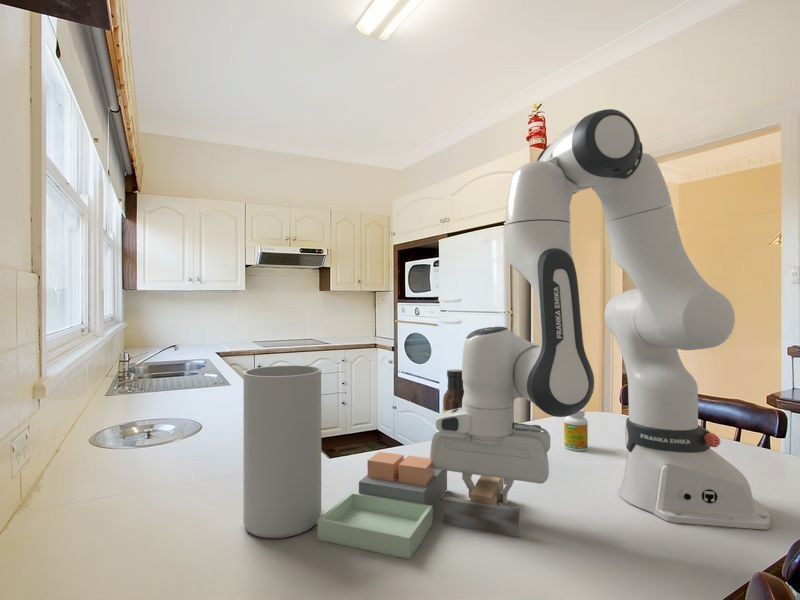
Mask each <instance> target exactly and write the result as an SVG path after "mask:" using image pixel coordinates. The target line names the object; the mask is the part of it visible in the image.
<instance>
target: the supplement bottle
mask: <svg viewBox="0 0 800 600" xmlns="http://www.w3.org/2000/svg"><path fill="white" fill-rule="evenodd" d="M585 411H586V410H585V409H584V408H583V409H581V410H580V411H579V412H577V413H575V414H573V415H570V416H567V417H565V418H564V421H563V422H564V424H563V425H564V431H563V432H564V437H563V440H564V448H565V449H567V450H569V451H573V452H586V451H587V450H588V449H589V448H588V445H589V443H588V440H589V439H588V438H589V437H588V434H589V432H588V430H589V428H588V427H589V425H588V422H589V421H588V419H587V418H586V417H585V415H586V412H585Z"/></svg>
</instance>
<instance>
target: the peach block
mask: <svg viewBox="0 0 800 600" xmlns="http://www.w3.org/2000/svg"><path fill="white" fill-rule="evenodd" d="M434 476H435V469H434V468H433V465H432V461H430V457H424V456H414V455H408V456H406V457H405V459H404V460H403V461H402V462H401V463H400V464H399V482H403V483H409V484H416V485H422V486H426V485H427V484H428V483H429V482H430V481H431V479H432V478H433V477H434Z"/></svg>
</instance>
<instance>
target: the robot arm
mask: <svg viewBox="0 0 800 600" xmlns="http://www.w3.org/2000/svg"><path fill="white" fill-rule="evenodd" d="M643 150H644V149H643V143H642V142H641V138H640V134H639V132H638V130H637V127H636V126H635V124H634V123H633V121H632V120H631V118H630V117H629V116H627V115H626V113H624V112H622V111H621V110H617V109H613V108H612V109H611V108H609V109H608V108H607V109H602V110H598V111H595V112H592V113H589V114H588V115H585V116H584V117H583V118H581V120H579V121H577V122H576V123H574V124H572V125H570V126H569V127H568V128H566V129H564V131H562V132H561V133H560V134H559V135H558V137H557V138H555V140H553V141H552V143H550V144H548V145H547V146H546V147H545V148H544V149H543V150H542V151H541V153H540V154H539V155H538V158H537V159H536V161H531V162H528V163H525V164H523V165H521V166H520V167H518V168H517V169H516V170H515V171H514V172H513V173H512V176H511V179H510V183H509V187H508V190H507V191H508V192H507V198H506V205H505V206H506V207H505V219H504V220H505V222H504V226H505V228H504V239H505V248H506V249H505V250H506V255H507V259H508V263H509V264H510V266H511V267H512V268H513V269H514V270H515V271H516V272H517V273H518V274H520V275H521V276H523V277H524V279H526V281H528V283H529V284H530V285H531V287H532V289H533V290H534V293H535V297H536V302H537V316H538V319H537V320H538V330H539V331H538V333H539V344H536V343H533V342H531V341H529V340H527V339H524V338H522V337H520V336H518V335H517V334H515V333H514V332H512V331H511V330H510V329H509V328H508V327H506V326H492V327H491V326H490V327H484V328H479V329H475V330H473V331H471V332H470V333H469V334H468V335H467V336H466V337H465V340H464V345H463V350H462V358H461V359H462V362H461V370H462V380H463V386H464V387H463V388H464V395H463V399H462V407H461V408H457V409H453V410H448V411H446V412H444V413H443V412H442V413H441V414H440V415H439V416H438V417H437V418H436V420H435V428H436V431H435V432H434V434H433V435H432V438H431V442H430V452H429V453H430V454H429V458H430V461H432V465H433V468H434V469H439V470H446V471H447V472H448V471H449V472H453V473H461V474H462V475H461V477H462V478H461V479H462V481H463V482H464V484H465V485H466V487H467V489H468V498H469V499H470V494H471V492H472V490H473V488H474V487H475V484H474V482H473V479H472V476H473V475H477V476H481V475H482V476H489V477H497V478H503V486H504V487H503V490H500V489H499V490H498V492H497V498H498V499H497V503H502V504H501V505H503V504H504V505H507V502H508V493H509V491H510V490H511V489H512V486H513V484H514V481H520V482H527V483H534V484H541V485H543V484H544V483H545V482H546V481H547V480H548V479H549V473H550V472H549V470H550V469H549V468H550V467H549V458H548V452H549V451H550V448H551V435H550V433H549V432H548V431H547V430H546V429H545V428H543V427H542V426H541V425H540V424H539V425H538V424H526V423H519V422H514V416H515V413H514V410H515V408H514V406H515V405H514V404H515V403H514V401H515V400H516V399H517V398H524V399H525V400H527V401H529V402H531V403H532V404H534V405H535V406H536V407H537V408H539V409H540V410H541V411H543V413H545V414H546V415H549V416H552V417H557V418H564V417H565V418H566V417H567V416H570V415H573V414H575V413H577V412H579V411H580V410H581V409H584V408H585V407H586V405H587V404H588V403H589V402H590V400H591V398H592V396H593V393H594V389H595V376H594V372H593V369H592V366H591V364H590V361H589V359H588V356H587V354H586V351H585V347H584V346H585V345H584V340H583V339H584V338H583V328H582V326H583V325H582V315H581V304H580V303H581V302H580V294H579V284H578V282H579V281H578V275H577V271H576V270H577V269H576V266H575V262H574V260H573V259H574V258H573V252H572V243H571V242H572V240H571V201H572V197H573V195H575V194H576V193H578V192H582V191H585V190H588V189H590V188H591V190H592V191H594V193H596V195H597V197H598V198H599V200H600V203H601V206H602V212H603V216H604V222H605V226H606V230H607V235H608V239H609V243H610V247H611V251H612V255H613V259H614V262H615V264H616V265H617V266H618V267H619V268H621V270H623V271H624V272H626V274H627V275H628V276H629V278H630V279H631V280H632V282H633V284H634V285H635V287H636V288H631V289H629V290H626V291H623V292H621V293H618V294H616V295H614V296H613V297H611V299H610V300H609V301H608V302H607V303H606V306H605V309H604V314H603V315H604V317H603V318H604V323H605V325H606V327H607V329H608V330H609V332H610V333H611V334H612V335H613V337H614V338H615V340H616V342H617V345H618V348H619V350H620V353H621V357H622V360H623V363H624V369H625V370H626V378H627V389H628V390H627V394H628V397H627V398H628V417H627V418H626V419H625V421H626V422H625V427H624V428H625V429H624V430H625V432H624V433H625V435H624V436H625V437H624V438H625V447H626V449H627V453H626V462H625V468H624V472H623V473H624V474H623V478H622V481H621V485H620V488H619V490H618V492H619V493H618V494H619V495H620V496H621V497H622V499H623V500H625V502H627V503H629V504H631V505H633V506H635V507H637V508H640V509H643V510H644V511H647V512H650V513H652V514H654V515H655V516H657V517H659V518H660V519H663V520H664V521H665V522H670V523H678V524H691V525H701V526H702V525H703V526H716V527H729V528H740V529H743V528H744V529H751V530H752V529H753V530H754V529H755V530H768V529H769V528H771V525H772V519H771V515H770V514H769V511H768V510H767V508H765V506H764V505H762V504H761V503H760V502H759V500H758V501H757V500H756V499H755V498H753V492H752V490H751V487H750V484H749V481H748V480H747V478H746V476H745V475H744V474H743V473H742V472H741V471H740V470H739V469H738V468H736V466H734V465H733V464H731V463H730V462H729V461H728V460H726V459H725V458H724V457H722V456H721V454H719V453H717V452H716V451H715V450H713V449H712V448H718V447H719V446H721V438H719V437H718V436H717V435H716V434H715V433H713V432H711V431H710V430H708V429H706V428H705V427H703V426H701V425H699V391H698V390H699V389H698V388H699V387H698V383H697V381H696V379H695V377H694V376H693V375H692V373H690V371H688V369H687V368H686V367H685V365H684V364H683V361H682V359H681V356H680V353H679V350H681V351H696V350H706V349H713V348H716V347H719V346H720V345H722V344H724V343H725V342H726V341H727V340H728V339H729V338H730V336H731V335H732V334H733V333H732V332H733V330H734V327H735V321H736V320H735V319H736V315H735V311H734V308H733V306H732V303H731V302H730V300H729V299H728V298H727V297H726V295H724V294H723V293H721V292H720V291H719V290H716V289H715V288H713V287H712V286H711V285H710V284H709V283H708V282H707V281H706V280H705V279H704V278H703V277H702V276H701V275H700V273H699V272H698V270H697V269H696V267H695V265H694V264H693V262H692V261H691V259H690V258H689V256H688V254H687V252H686V249H685V247H684V245H683V242H682V239H681V235H680V231H679V227H678V224H677V219H676V215H675V212H674V207H673V203H672V199H671V195H670V192H669V189H668V186H667V185H668V184H667V183H666V181H665V177H664V176H663V173H662V171H661V168H660V166H659V165H658V163H657V160H656V159H655V158H654V157H653V156H652V155H651V154H649V153H645V152H643Z"/></svg>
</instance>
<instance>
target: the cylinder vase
mask: <svg viewBox="0 0 800 600" xmlns="http://www.w3.org/2000/svg"><path fill="white" fill-rule="evenodd" d="M242 463H243V466H242V467H243V470H242V471H243V473H242V474H243V496H242V497H243V500H242V501H243V508H242V509H243V514H242V515H243V518H242V519H243V525H244V527H245V529H246V531H247V532H248V533H250V534H251V535H253V536H257V537H259V538H263V539H265V538H266V539H282V538H289V537H294V536H297V535H300V534H302V533H305V532H308V531H309V530H311V529H312V528H313V527H314V526H315V525H316V524H318V519H319V518H320V517H322V368H320V367H317V366H311V365H272V366H261V367H255V368H250V369H246V370H244V371H243V462H242Z"/></svg>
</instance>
